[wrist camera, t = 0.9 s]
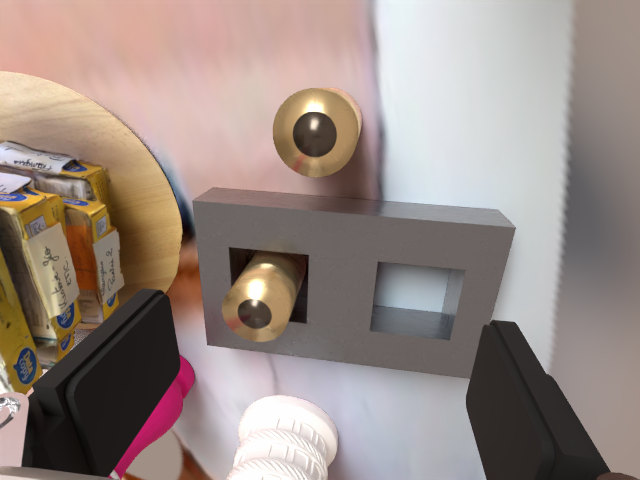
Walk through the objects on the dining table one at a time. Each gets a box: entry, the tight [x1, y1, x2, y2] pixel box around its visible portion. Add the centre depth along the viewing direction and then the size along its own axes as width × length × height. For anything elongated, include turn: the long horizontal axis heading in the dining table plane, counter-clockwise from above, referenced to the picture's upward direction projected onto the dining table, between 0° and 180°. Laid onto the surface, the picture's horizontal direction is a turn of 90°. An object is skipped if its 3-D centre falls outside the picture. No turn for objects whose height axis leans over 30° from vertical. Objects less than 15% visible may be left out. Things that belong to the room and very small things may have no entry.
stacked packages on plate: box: [0, 71, 182, 395], centre depth 28 cm, size 25×25×17 cm
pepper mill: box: [107, 355, 195, 480], centre depth 32 cm, size 7×7×20 cm
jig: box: [193, 188, 516, 379], centre depth 30 cm, size 14×24×8 cm, turn 87°
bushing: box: [273, 88, 362, 177], centre depth 25 cm, size 5×5×8 cm
